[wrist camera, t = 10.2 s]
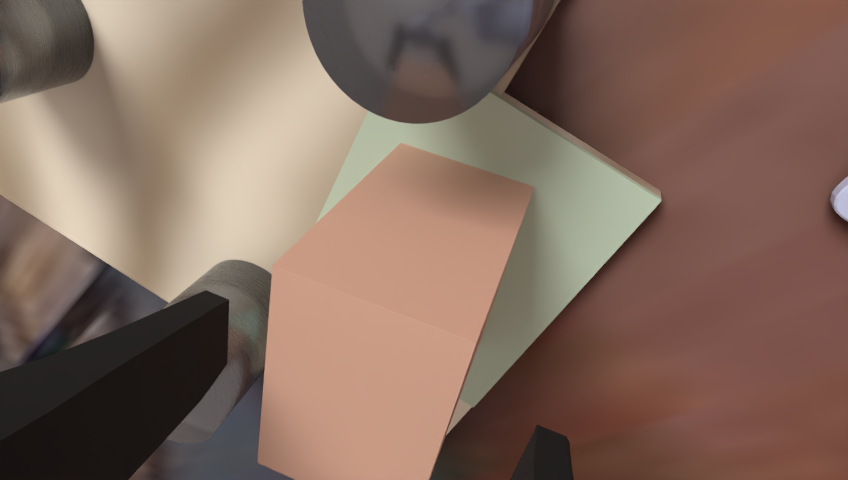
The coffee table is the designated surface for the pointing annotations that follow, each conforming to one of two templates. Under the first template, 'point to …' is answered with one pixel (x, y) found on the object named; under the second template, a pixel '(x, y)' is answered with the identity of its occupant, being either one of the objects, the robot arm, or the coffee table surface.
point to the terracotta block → (384, 318)
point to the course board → (289, 148)
